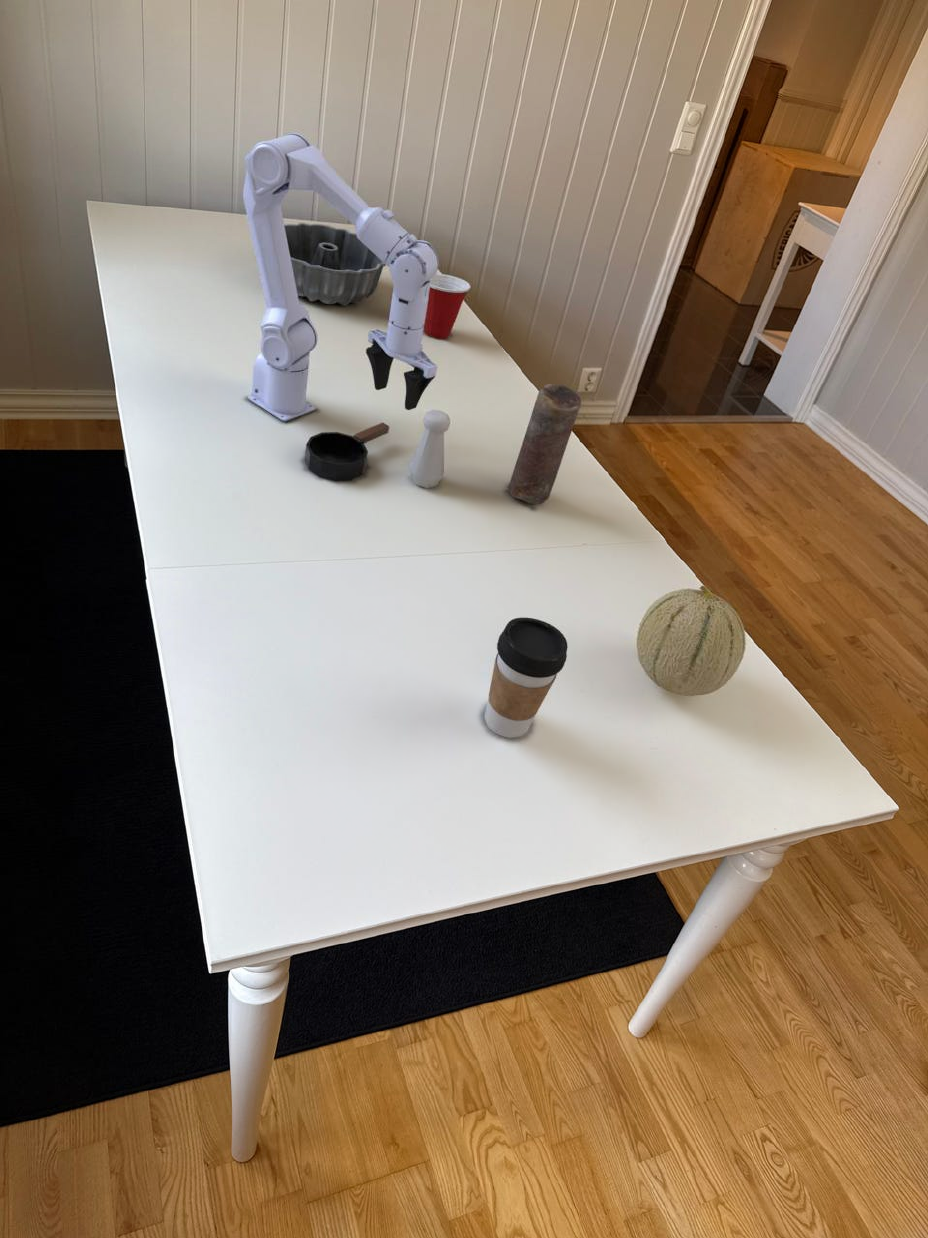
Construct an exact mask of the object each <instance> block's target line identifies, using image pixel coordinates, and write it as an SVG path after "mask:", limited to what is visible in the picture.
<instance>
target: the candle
mask: <svg viewBox="0 0 928 1238" xmlns="http://www.w3.org/2000/svg"><path fill="white" fill-rule="evenodd" d="M581 406H582V401H581V396H580V395H579V394H578V392H576V391H574V390H573V389H571V388H570V387H568V386H566V385H564V384H555V383H549V384H545V385H544V386H542V387H541V388H540V389H539V391H538V393H537V396H536V399H535V402H534V406H533V408H532V412H531V415H530V418H529V421H528V424H527V427H526V431H525V433H524V437H523V439H522V443H521V446H520V449H519V453H518V456H517V459H516V461H515V464H514V468H513V471H512V474H511V477H510V481H509V484H508V487H507V489H508V493H509V495H510V496H512V497H513V498H516V499H517V500H523V501H524V502H525V503H527V504H528V503H529V504H531V505H538V504H543V503H544V502H546V501H547V500H548V499H550V496H551V493H552V490H553V487H554V484H555V482H556V479H557V475H558V473H559V469H560V468H561V464H562V461H563V458H564V455H565V452H566V449H567V446H568V444H569V440H570V437H571V434H572V432H573V428H574V426H575V423H576V420H577V417H578V414H579V411H580V409H581Z"/></svg>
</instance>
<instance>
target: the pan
mask: <svg viewBox="0 0 928 1238" xmlns="http://www.w3.org/2000/svg"><path fill="white" fill-rule="evenodd" d="M389 431H390V425H388V424H386V423H385V422H380V423H378V424H375V425H372V426H370V427H367V428H366V429H364V430H361V431H359V432H357V433H354V434H353V435H352V434H351V435H350V434H346V433H342V432H338V431H324V432H323V431H322V432H320V433H317V434H315V435H312V436H310V437H309V439H308V440H307V442H306V444H305V453H304V463H305V465H306V467H307V470H308V471H310V472H311V473H313V474H314V475H316V476H317V477H319V478H321V479H326V480H330V481H334V482H347V481H350V482H351V481H353V480H355V479H357V478H359V477H361V476H363V475H364V472H365V470H366V467H367V461H368V454H369V450H368V449H367V447H366V445H365V444H366V443H369V442H371V441H373V440H376V439H378V438H380V437H383V436H385V435H387V434H389Z"/></svg>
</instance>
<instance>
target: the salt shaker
mask: <svg viewBox="0 0 928 1238" xmlns="http://www.w3.org/2000/svg"><path fill="white" fill-rule="evenodd" d="M450 425H451V418H450V416H449V415H448V413H446V412H445V411H442V410H439V409H431V410H429V411H427V412H426V413H425V415H424V417H423V426H424V431H423V433H422V436H421V438H420V441H419V443H418V445H417V448H416V449H415V450H416V451H415V453H414V455H413V458H412V460H411V463H410V465H409V471H410V475H411V479H412V481H413V482H414V483H415V485H416V486H419V487H422V488H425V489H430V488H433V487H436V486H437V485H438V484H439V482H440V481H441V480H442V478H443V475H444V473H445V432H447V431H448V430H449V428H450Z"/></svg>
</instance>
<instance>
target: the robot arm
mask: <svg viewBox="0 0 928 1238" xmlns="http://www.w3.org/2000/svg"><path fill="white" fill-rule="evenodd" d="M244 163H245V167H246V173H245V178H244V184H243V189H242V197H243V198H242V199H243V203H244V207H245V212H246V217H247V222H248V226H249V231H250V237H251V240H252V245H253V251H254V254H255V259H256V264H257V269H258V273H259V277H260V278H259V279H260V283H261V287H262V291H263V296H264V301H265V306H266V310H265V314H264V316H263V318H262V321H261V323H260V330H261V340H260V353H259V354H258V355H257V356H256V358H255V359H254V363H253V366H252V382H251V383H252V384H251V385H252V386H251V394H250V395H248V397H247V399H248V400H249V401H251V402H252V403H253V404H255V405H257V406H258V407H260V408H262V410H264V411H266V412H268V413H270V414H271V415H273V416H274V417H276V418H277V419H279V420H281V421H283V422H288V421H290V420H293V419H295V418H297V417H301V416H303V415H305V414H308V413H310V412H313V411H316V407H315V406H314V405H312V404H311V403H309V402H308V401H306V400H307V390H308V379H309V368H310V367H309V366H310V354H311V352H312V351H314V349H315V348H316V347H317V345H318V341H319V337H318V333H317V331H318V330H317V329H316V327H315V326H314V324H313V322H312V320H311V318H310V314H309V310H308V309H307V308H306V307H305V306H303V305H302V304H301V303H300V301H299V296H298V295H297V289H296V284H295V279H294V274H293V269H292V263H291V258H290V253H289V248H288V243H287V237H286V232H285V227H284V225H285V223H284V218H283V217H284V216H283V211H282V207H281V203H282V201H283V200H284V198H285V197H286V196H287V194H288V193H289V191H290V190H294V191H295V190H297V191H313V192H314V193H316V194H317V196H319V197H320V198H321V199H322V200H324V201H325V202H326V203H328V205H330V206H331V207H332V208H333V209H335V210H336V211H337V212H338V213H339V214H341V215H342V216H343V217H345V219H347V220H348V221H349V222H350V223H352V224H353V225H354V228H355V234H356V235H357V238H358V239H359V240H360V241H361V242H362V243H363V244H364V245H365V246H367V247H368V248H369V249H370V250H371V251H372V252H373V253H374V254H375V255H376V256H377V257H378V258H379V259H381V260H382V261H383V262H384V263H385V264H386V267H388V268H389V273H390V277H391V279H392V281H393V288H392V289H393V290H392V296H391V302H390V310H389V316H388V324H387V332H385V331H383V330H381V329H379V328H375V329H371V330H369V331H368V337H367V338H368V339H367V342H368V343H370V344H371V346H369V347H366V349H365V353H366V356H367V358H368V361H369V364H370V366H371V370H372V376H373V385H374V389H375V390H376V391H380V390H384V389H386V388H387V386H388V383H389V380H390V379H389V378H390V372H391V368H392V364H393V361H394V359H395V360H398V361H400V362H403V363H406V364H407V365H409V366H410V367H412V368H413V369H412V370H408V371H405V372H403V377H404V382H405V397H404V409H405V410H406V411H411V410H414V409H416V408H417V406H418V404H419V402H420V400H421V397H422V396H423V393H424V392H425V390H426V388H427V387H429V385H430V383H431V382H432V381H433V380H434V379H435V378H436V376H437V372H438V371H437V370H438V365H437V364H436V363H435V362H433V361H432V359H430V357H429V356H428V355H427V354H426V353H425V352H424V351H423V350H424V348H423V347H424V344H422V340H423V334H424V323H425V317H426V311H427V304H428V297H429V290H430V283H431V281H428V280H429V279H430V278H432V277H433V276H434V274H437V272H438V269H439V266H440V259H439V256H438V253H437V251H436V249H435V248H434V247H433V245H432V244H431V242H429V241H426V240H422V239H420V240H419V239H418V238H417V237H416V236H415V235H414V233H413V234H410V233H409V232H408V231H407V230H406V229H404V227H402V226H401V225H400V223H399V222H397V221H396V220H395V218H394V216H395V215H394V213H393V212H392V211H391V210H389V209H386V210H384V209H383V207H381V206H376V207H370V206H369V205H368V204H367V203H366V201H364V200H363V199H362V198H361V197H360V196H359V194H357V193H356V192H355V191H354V190H353V188H352V187H351V186H350V185H349V184H348V183H347V182H346V181H345V180H344V179H343V178H342V177H341V176H340V175H339V174H338V172H336V171H335V170H334V168H333V167H332V166H330V165H329V163H328V162H327V161H326V159H325V158H324V155H323V154H322V152H321V150H320V149H319V148H318V147H316V146H315V145H313V144H311V142H310V141H309V140H308V139H307V137H306V136H304V135H302V134H301V133H298V132H289V133H287V134H285V135H284V136H280V137H276V138H274V139H270V140H267V141H266V140H264V141H259V142H258V143H256V144H255V145H254V146H253V148H252V149H251V150H250V151H249V152H248V154H247V155H246V156H245V158H244Z"/></svg>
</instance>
